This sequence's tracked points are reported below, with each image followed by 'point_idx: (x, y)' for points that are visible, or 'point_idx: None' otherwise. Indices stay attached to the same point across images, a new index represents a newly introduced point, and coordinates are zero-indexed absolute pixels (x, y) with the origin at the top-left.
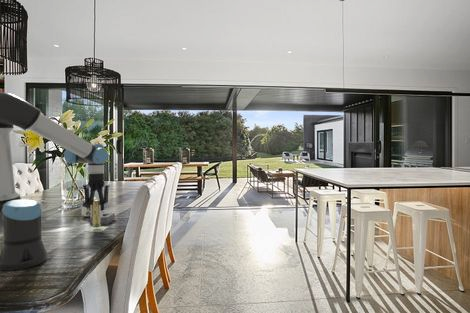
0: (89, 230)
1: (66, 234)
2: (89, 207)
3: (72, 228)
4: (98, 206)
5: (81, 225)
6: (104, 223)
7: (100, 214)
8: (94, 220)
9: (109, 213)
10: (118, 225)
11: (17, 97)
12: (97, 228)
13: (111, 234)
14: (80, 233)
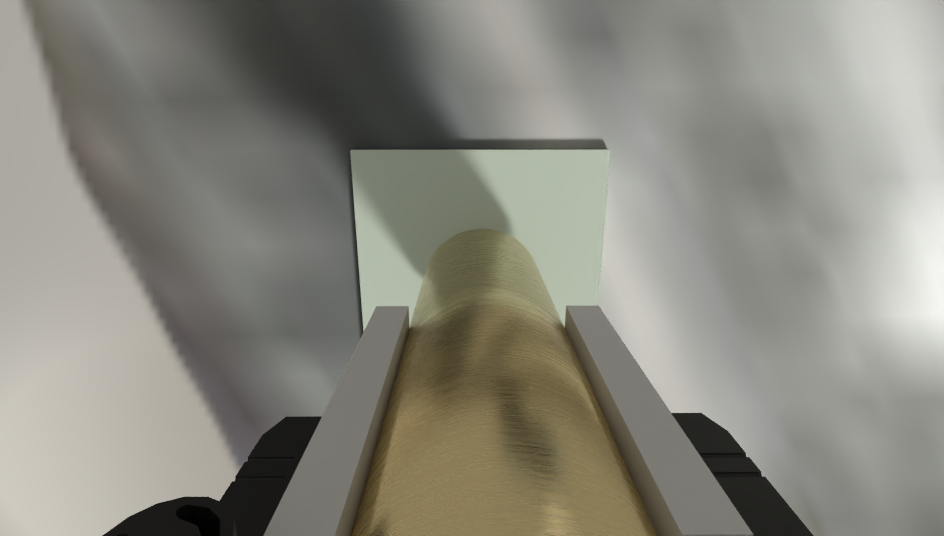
0: (549, 194)
1: (818, 14)
2: (747, 480)
3: (838, 307)
4: (373, 490)
5: (768, 434)
6: None
7: (364, 340)
8: (493, 261)
9: None
10: None
11: None
12: None
13: (133, 35)
14: (627, 73)
